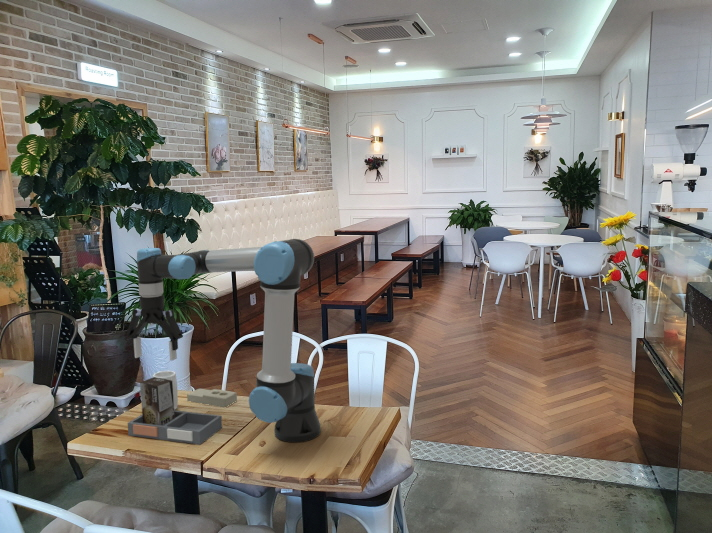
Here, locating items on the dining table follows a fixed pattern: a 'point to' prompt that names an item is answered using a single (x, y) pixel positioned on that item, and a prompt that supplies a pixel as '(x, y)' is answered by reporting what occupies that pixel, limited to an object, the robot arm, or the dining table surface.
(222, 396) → the electrical outlet
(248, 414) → the dining table surface
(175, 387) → the cup
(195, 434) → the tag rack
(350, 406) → the dining table surface
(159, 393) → the coffee box
